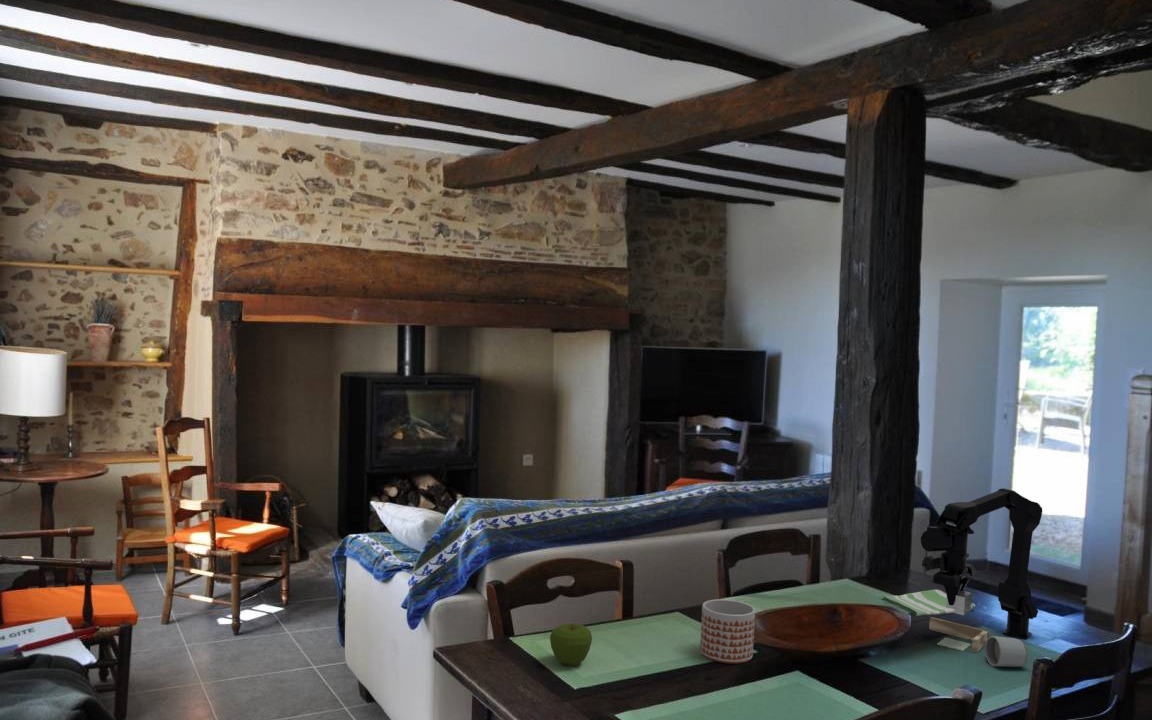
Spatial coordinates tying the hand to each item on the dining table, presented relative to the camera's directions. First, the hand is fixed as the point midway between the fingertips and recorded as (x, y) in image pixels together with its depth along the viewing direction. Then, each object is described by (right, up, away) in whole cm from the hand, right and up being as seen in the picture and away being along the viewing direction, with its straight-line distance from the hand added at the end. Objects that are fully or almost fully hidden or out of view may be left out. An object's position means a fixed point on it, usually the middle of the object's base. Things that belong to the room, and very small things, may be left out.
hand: (952, 604), depth 257 cm
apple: (-108, -7, -30) cm, 112 cm away
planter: (-67, -9, -18) cm, 70 cm away
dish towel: (+7, -10, +35) cm, 37 cm away
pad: (0, -11, -2) cm, 11 cm away
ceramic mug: (+7, -12, -15) cm, 20 cm away
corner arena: (+1, -11, +2) cm, 11 cm away
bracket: (0, -1, -2) cm, 3 cm away
